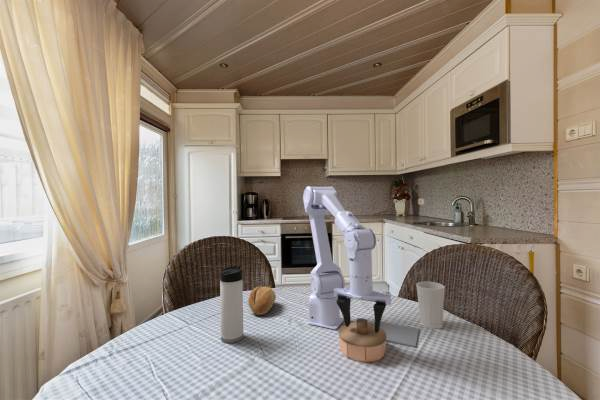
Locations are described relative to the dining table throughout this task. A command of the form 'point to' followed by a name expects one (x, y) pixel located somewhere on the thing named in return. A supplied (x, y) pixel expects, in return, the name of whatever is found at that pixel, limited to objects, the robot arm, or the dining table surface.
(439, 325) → the cup
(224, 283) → the travel mug
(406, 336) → the mat
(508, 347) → the dining table surface
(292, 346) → the dining table surface
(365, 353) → the bowl
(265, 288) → the bread roll
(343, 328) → the lid
